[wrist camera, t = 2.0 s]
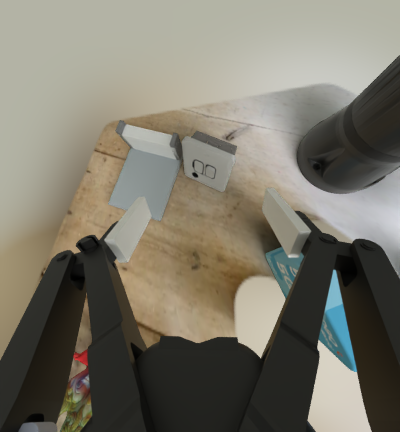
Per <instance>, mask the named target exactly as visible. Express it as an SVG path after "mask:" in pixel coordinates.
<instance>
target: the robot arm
mask: <svg viewBox="0 0 400 432" xmlns="http://www.w3.org/2000/svg"><path fill="white" fill-rule="evenodd" d="M297 159H298V164H299V167H300V170H301V172H302V173H303V175H304V176H305V177H306V179H307V180H308V181H309V182H310V183H312V184H313V185H314V186H316V187H318V188H320V189H322V190H324V191H327V192H331V193H336V194H347V193H353V192H356V191H359V190H362V189H365V188H368V187H370V186H372V185H374V184H376V183H378V182H379V181H381V180H382V179H383V178H384V177H385V176H386V175H388V174H390V173H392V172H393V171H395V170H396V169H398V168H399V167H400V56H398V57H397V58H396V59H395V60H394V61H393V62H392V63H391V64H390V65H389V66H388V67H387V68H386V69H385V70H384V71H383V72H382V73H381V74H380V75H379V76H378V77H377V78H376V79H375V80H374V81H373V82H372V83H371V84H370V85H369V86H368V87H367V88H366V89H365V90H364V91H363V92H362V93H361V94H360V95H359V96H358V97H357V98H356V99H355V100H354V101H353V102H352V103H351V104H350V105H348V106H346V107H345V108H343V109H341V110H340V111H338V112H337V113H335V114H333V115H332V116H330V117H329V118H327V119H325V120H323V121H321V122H320V123H318V124H317V125H316V126H314V127H313V128H312V129H311V130H310V131H309V133H308V134H307V135H306V136H305V137H304V138H303V140H302V141H301V143H300V145H299V148H298V154H297ZM262 211H263V213H264V215H265V217H266V219H267V220H268V222H269V224H270V226H271V228H272V229H273V231H274V233H275V235H276V237H277V238H278V240H279V242H280V244H281V246H282V247H283V249H284V251H285V253H286V255H287V256H288V258H292V257H299V255H300V253H302V254H303V256H304V257H303V259H302V261H301V263H300V267H299V269H298V272H297V274H296V276H295V279H294V281H293V284H292V286H291V288H290V291H289V293H288V296H287V298H286V300H285V303H284V305H283V308H282V310H281V313H280V315H279V317H278V320H277V322H276V325H275V327H274V330H273V332H272V334H271V337H270V339H269V341H268V344H267V345H266V348H265V350H264V352H263V355H262V357H261V358H260V357H259V356H258V355H257V354H256V353H255V352H254V351H253V350H251V349H250V348H248V347H247V346H245V345H243V344H241V343H238V339H237V337H217V338H214V339H211V340H208V341H205V342H201V343H195V342H192V341H189V340H187V339H184V338H182V337H179V336H161V337H160V342H157V343H155V344H153V345H152V346H150V347H149V348H147V347H146V345H145V343H144V341H143V339H142V337H141V335H140V332H139V329H138V326H137V323H136V321H135V318H134V315H133V312H132V309H131V306H130V303H129V301H128V298H127V295H126V292H125V289H124V286H123V283H122V281H121V278H120V275H119V272H118V269H117V266H116V264H115V263H114V261H115V260H116V258H117V260H118V261H119V263H121V262H128V261H129V259H130V257H131V255H132V253H133V252H134V250H135V248H136V246H137V244H138V242H139V240H140V238H141V236H142V234H143V232H144V230H145V228H146V226H147V225H148V223H149V221H150V219H151V217H152V216H151V213H150V210H149V208H148V205H147V202H146V199H145V197H138V198H137V199H136V200H135V201H134V203H133V204H132V205H131V206H130V208H129V209H128V210H127V211H126V213H125V214H124V215H123V217H122V218H121V219H120V220H119V221H117V222H115V223H114V224H113V225H112V226H111V227H110V228H109V229H108V230H107V232H106V233H105V234H104V235H103V236H102V238H101V239H100V240H98V239H97V237H96V236H95V235H89V236H86V237H84V238H82V239H81V240H79V241H78V242H77V243H76V247H77V248H78V249H79V250H80V251H81V252H80V253H76V254H74V253H73V252H72V251H71V250H67V251H63V252H61V253H59V254H57V255H56V256H55V257H54V258H53V259H52V260H51V262H50V264H49V266H48V268H47V270H46V272H45V274H44V275H43V277H42V279H41V281H40V283H39V285H38V287H37V289H36V291H35V293H34V295H33V297H32V299H31V301H30V303H29V305H28V307H27V309H26V311H25V313H24V315H23V317H22V319H21V321H20V323H19V325H18V327H17V329H16V331H15V333H14V335H13V337H12V339H11V341H10V342H9V344H8V347H7V348H6V350H5V352H4V355H3V356H2V358H1V360H0V432H57V426H56V423H57V420H58V417H59V414H60V411H61V408H62V405H63V401H64V397H65V393H66V389H67V385H68V380H69V375H70V371H71V366H72V361H73V356H74V351H75V346H76V341H77V337H78V332H79V327H80V322H81V317H82V312H83V308H84V303H85V298H86V293H87V298H88V307H89V316H90V324H91V333H92V344H91V345H90V346H89V347H88V350H87V361H88V373H89V384H90V396H91V408H92V416H91V418H90V419H89V420H88V422H87V423H86V424H85V425H84V427H83V428H82V429H81V430H80V432H316V431H315V430H314V429H313V427H312V426H311V425H310V423H309V422H308V421H307V419H308V414H309V409H310V404H311V399H312V394H313V389H314V384H315V379H316V374H317V369H318V364H319V351H318V349H317V345H318V339H319V335H320V330H321V326H322V321H323V316H324V312H325V307H326V302H327V298H328V293H329V289H330V284H331V279H332V275H333V270H336V274H337V278H338V283H339V288H340V293H341V297H342V302H343V307H344V312H345V317H346V321H347V326H348V331H349V336H350V341H351V345H352V350H353V355H354V360H355V365H356V369H357V374H358V379H359V384H360V389H361V393H362V398H363V402H364V406H365V410H366V414H367V418H368V422H369V425H370V427H371V430H372V432H400V279H399V277H398V275H397V274H396V272H395V270H394V268H393V266H392V265H391V263H390V261H389V259H388V257H387V256H386V254H385V252H384V250H383V249H382V248H381V247H380V246H379V245H378V244H376V243H374V242H372V241H369V240H366V239H356V240H354V241H353V243H352V244H351V243H345V242H339V241H338V240H337V239H336V238H335V237H333V236H332V235H329V234H326V233H322V232H321V231H320V230H319V229H318V228H317V227H316V226H315V225H314V224H313V223H312V222H311V220H310V219H308V217H307V216H306V215H305V214H303V213H302V212H300V211H294V210H293V209H292V208H291V207H290V206H289V205H288V204H287V202H286V201H285V200H284V199H283V198H282V197H281V196H280V194H279V193H278V192H277V191H276V190H275V189H274V188H266V191H265V196H264V201H263V207H262Z"/></svg>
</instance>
